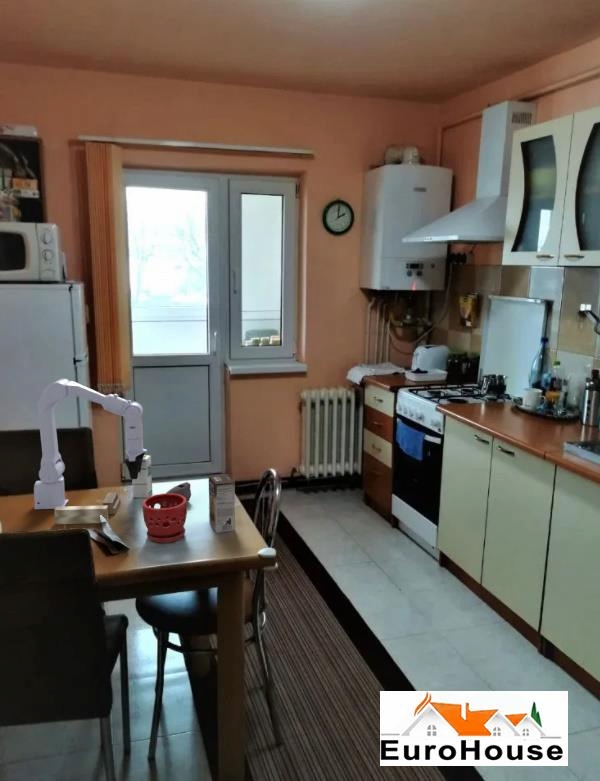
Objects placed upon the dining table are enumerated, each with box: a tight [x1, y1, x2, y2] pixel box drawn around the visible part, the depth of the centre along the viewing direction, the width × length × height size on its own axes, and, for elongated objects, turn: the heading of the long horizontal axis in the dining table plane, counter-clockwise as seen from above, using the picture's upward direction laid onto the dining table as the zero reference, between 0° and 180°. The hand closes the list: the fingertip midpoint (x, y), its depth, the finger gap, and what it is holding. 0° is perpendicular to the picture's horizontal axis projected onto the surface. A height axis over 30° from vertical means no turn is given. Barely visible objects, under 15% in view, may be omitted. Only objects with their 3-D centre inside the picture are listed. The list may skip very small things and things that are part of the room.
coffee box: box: [208, 473, 236, 534], centre depth 195 cm, size 9×6×16 cm
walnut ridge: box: [101, 492, 122, 515], centre depth 210 cm, size 5×10×4 cm, turn 7°
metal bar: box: [53, 505, 109, 525], centre depth 198 cm, size 16×3×5 cm, turn 96°
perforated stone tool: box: [162, 481, 192, 506], centre depth 213 cm, size 15×5×7 cm, turn 149°
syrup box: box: [131, 454, 153, 499], centre depth 223 cm, size 6×6×14 cm
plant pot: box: [141, 492, 188, 544], centre depth 186 cm, size 13×13×12 cm
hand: (135, 475), depth 214 cm, fingers open, 7 cm apart
